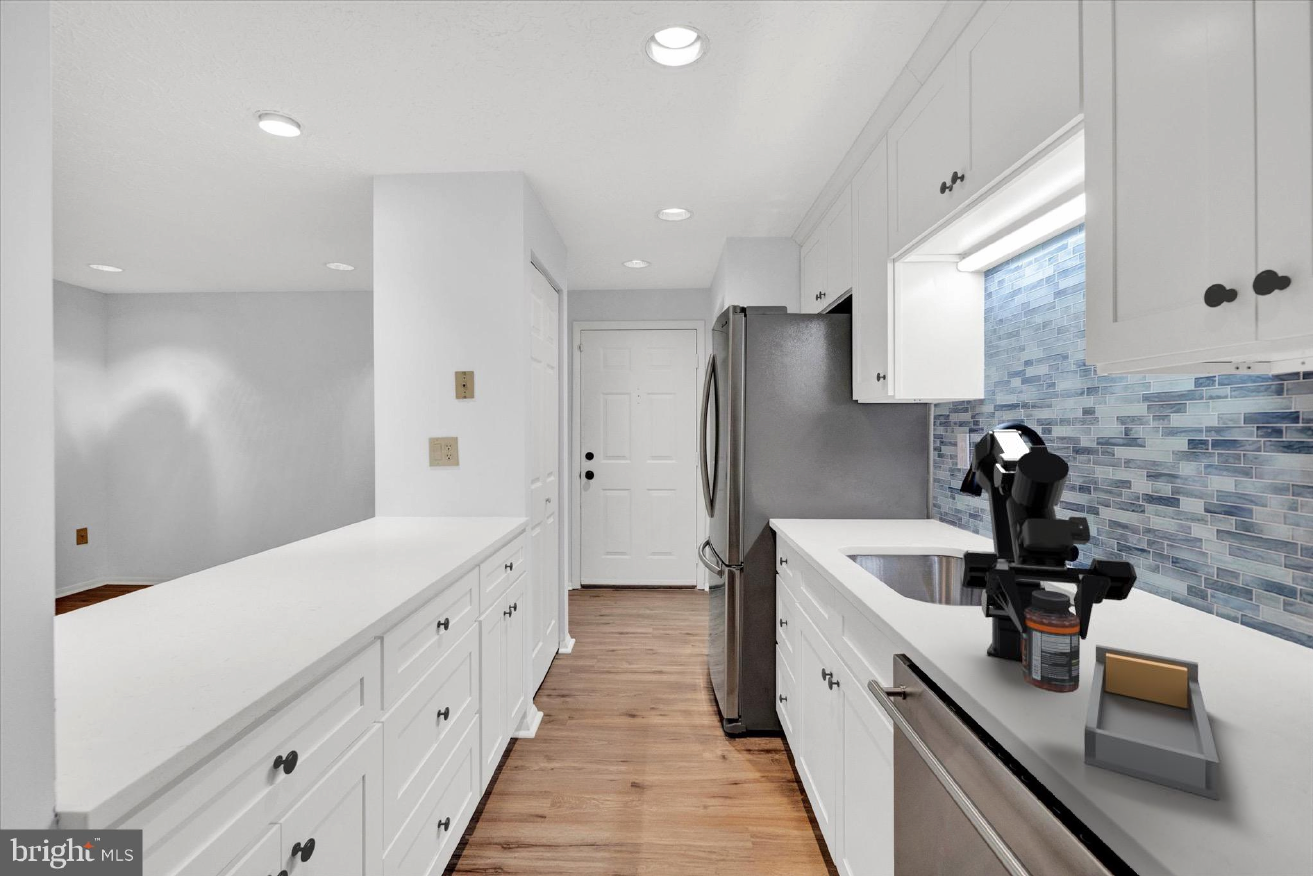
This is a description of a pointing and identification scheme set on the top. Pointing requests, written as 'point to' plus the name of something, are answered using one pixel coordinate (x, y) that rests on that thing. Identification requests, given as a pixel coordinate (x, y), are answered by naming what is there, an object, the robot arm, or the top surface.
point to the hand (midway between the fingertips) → (1053, 635)
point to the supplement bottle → (1051, 643)
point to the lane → (1151, 732)
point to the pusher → (1146, 680)
